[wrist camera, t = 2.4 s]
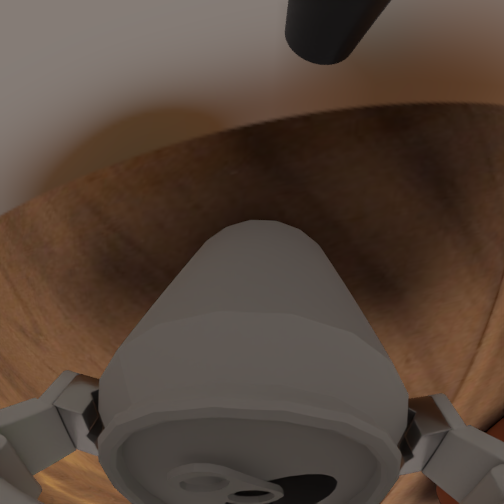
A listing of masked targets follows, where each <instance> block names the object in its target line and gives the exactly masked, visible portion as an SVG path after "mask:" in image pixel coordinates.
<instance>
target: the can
mask: <svg viewBox="0 0 504 504" xmlns="http://www.w3.org/2000/svg"><path fill="white" fill-rule="evenodd" d="M98 411H99V414H100V416H101V419H102V421H103V424H104V426H105V429H104V430H103V431H102V433H101V434H100V435H99V437H98V457H99V462H100V464H101V466H102V468H103V470H104V471H105V473H106V475H107V476H108V478H109V480H110V481H111V483H112V484H113V486H114V487H115V488H116V489H117V490H118V491H119V492H120V493H121V494H122V495H123V496H124V497H125V498H127V499H128V500H129V501H130V502H131V503H132V504H379V503H380V502H381V501H382V500H383V499H384V497H385V496H386V495H387V493H388V492H389V491H390V489H391V488H392V487H393V485H394V484H395V482H396V481H397V480H398V478H399V473H400V465H401V456H402V455H401V452H400V450H399V449H398V447H397V445H398V443H399V441H400V439H401V437H402V435H403V433H404V431H405V429H406V427H407V416H408V393H407V391H406V389H405V387H404V385H403V383H402V381H401V379H400V377H399V375H398V373H397V371H396V369H395V367H394V365H393V363H392V361H391V359H390V358H389V356H388V354H387V352H386V351H385V349H384V347H383V346H382V344H381V342H380V341H379V339H378V337H377V336H376V334H375V332H374V331H373V329H372V327H371V326H370V324H369V322H368V321H367V319H366V317H365V316H364V314H363V312H362V311H361V309H360V308H359V306H358V304H357V303H356V301H355V300H354V298H353V296H352V295H351V293H350V292H349V290H348V289H347V287H346V285H345V284H344V282H343V281H342V279H341V278H340V276H339V275H338V273H337V271H336V270H335V268H334V267H333V265H332V264H331V262H330V261H329V259H328V258H327V256H326V255H325V253H324V252H323V250H322V249H321V247H320V246H319V244H317V243H316V242H315V241H314V240H312V239H311V238H310V237H309V236H307V235H306V234H305V233H304V232H302V231H301V230H300V229H297V228H295V227H292V226H289V225H287V224H284V223H281V222H278V221H270V220H248V221H245V222H241V223H238V224H234V225H231V226H228V227H226V228H224V229H223V230H221V231H220V232H218V233H217V234H215V235H214V236H212V237H211V238H210V239H208V240H207V241H206V242H205V243H204V244H203V245H202V247H201V248H200V249H199V250H198V251H197V252H196V254H195V255H194V256H193V257H192V258H191V260H190V261H189V262H188V263H187V264H186V265H185V267H184V268H183V269H182V270H181V271H180V273H179V274H178V275H177V276H176V277H175V279H174V280H173V281H172V282H171V283H170V285H169V286H168V287H167V288H166V290H165V291H164V292H163V293H162V294H161V296H160V297H159V298H158V299H157V301H156V302H155V303H154V304H153V305H152V307H151V308H150V309H149V310H148V312H147V313H146V314H145V315H144V317H143V318H142V319H141V320H140V322H139V323H138V324H137V325H136V327H135V328H134V329H133V330H132V332H131V333H130V334H129V336H128V337H127V338H126V339H125V341H124V342H123V343H122V344H121V346H120V347H119V348H118V350H117V351H116V353H115V355H114V356H113V358H112V359H111V361H110V363H109V364H108V366H107V368H106V369H105V371H104V373H103V374H102V376H101V378H100V379H99V403H98Z"/></svg>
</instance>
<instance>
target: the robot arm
mask: <svg viewBox="0 0 504 504" xmlns="http://www.w3.org/2000/svg"><path fill="white" fill-rule="evenodd" d="M98 403H99V379H97V378H93V377H90V376H86V375H83V374H79V373H75V372H72V371H69V370H66V371H63V373H62V374H61V375H60V376H59V377H58V378H57V379H56V380H55V381H54V382H53V383H52V384H51V386H50V387H49V388H48V389H47V390H46V391H45V392H44V393H43V394H42V396H41V397H40V398H39V399H36V398H33V399H30V400H27V401H24V402H21V403H18V404H15V405H12V406H9V407H6V408H3V409H0V504H44V503H42V502H40V501H39V500H37V499H38V497H39V495H40V493H41V492H42V488H41V486H40V484H39V483H38V482H37V481H36V479H35V478H34V477H33V475H35V474H36V473H38V472H40V471H42V470H43V469H45V468H47V467H49V466H50V465H52V464H54V463H55V462H57V461H59V460H61V459H62V458H64V457H66V456H67V455H69V454H71V453H72V452H74V451H75V450H76V449H78V450H81V451H84V452H87V453H90V454H93V455H96V456H98V437H99V435H100V434H101V433H102V431H103V430H104V429H105V426H104V424H103V421H102V419H101V416H100V414H99V411H98ZM397 447H398V449H399V450H400V452H401V455H402V456H401V465H400V473H399V475H404V474H409V473H414V472H419V471H422V473H423V474H425V475H426V476H427V477H428V478H429V479H430V480H432V481H433V482H434V483H435V484H437V485H438V486H439V487H440V488H441V489H443V490H444V491H445V492H446V493H447V494H449V495H450V496H451V497H452V498H454V499H455V500H456V501H457V502H459V504H504V442H502V441H500V440H498V439H496V438H494V437H492V436H490V435H488V434H486V433H484V432H482V431H481V430H479V429H477V428H475V427H473V426H471V425H468V426H466V425H465V423H464V422H463V420H462V419H461V417H460V416H459V414H458V413H457V411H456V410H455V408H454V407H453V405H452V404H451V402H450V401H449V399H448V398H447V396H446V395H445V394H443V393H439V394H434V395H428V396H423V397H416V398H409V399H408V416H407V427H406V429H405V431H404V433H403V435H402V437H401V439H400V441H399V443H398V445H397Z"/></svg>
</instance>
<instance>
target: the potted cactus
mask: <svg viewBox="0 0 504 504" xmlns="http://www.w3.org/2000/svg"><path fill="white" fill-rule="evenodd" d="M486 434H488V435H490V436H492V437H494V438H496V439H498V440H500V441H502V442H504V418H503V419H501V420H500V421H499V422H498V423H497V424H495V425H494V426H493V427H492V428H491V429H489V430H488V431H487V432H486ZM436 492H437V496H438V498H439V501H440V504H459V502H457V501H456V500H455V499H454V498H452V497H451V496H450V495H449V494H447V493H446V492H445V491H444V490H443V489H441V488H440V487H439V486H438V485H437V487H436Z"/></svg>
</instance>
